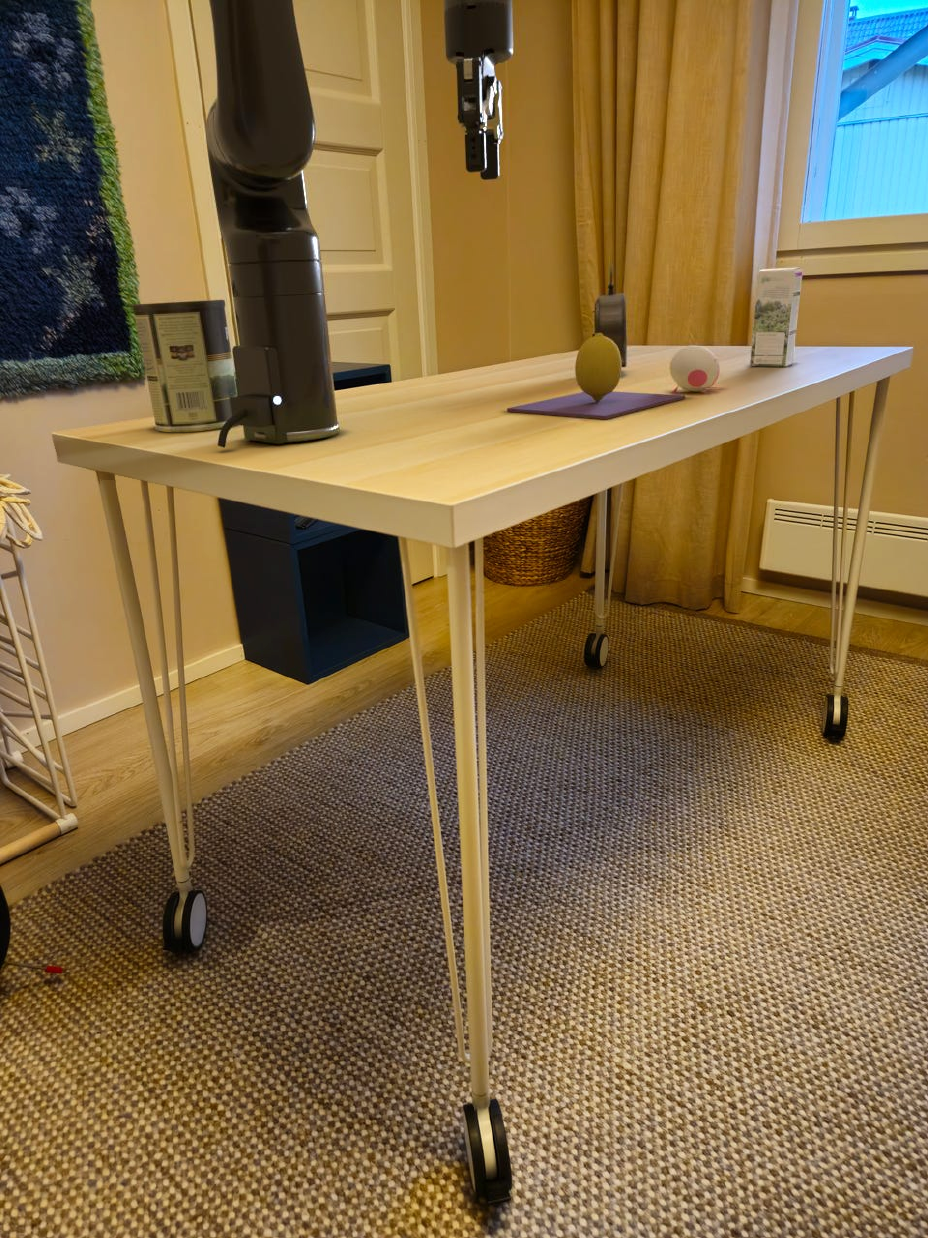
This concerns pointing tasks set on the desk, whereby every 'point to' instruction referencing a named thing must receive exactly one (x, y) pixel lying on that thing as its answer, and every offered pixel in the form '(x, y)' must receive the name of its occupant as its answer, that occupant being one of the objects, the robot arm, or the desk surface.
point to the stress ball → (694, 368)
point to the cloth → (596, 404)
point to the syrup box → (775, 316)
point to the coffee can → (187, 363)
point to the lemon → (598, 366)
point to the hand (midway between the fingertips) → (483, 175)
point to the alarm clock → (612, 319)
